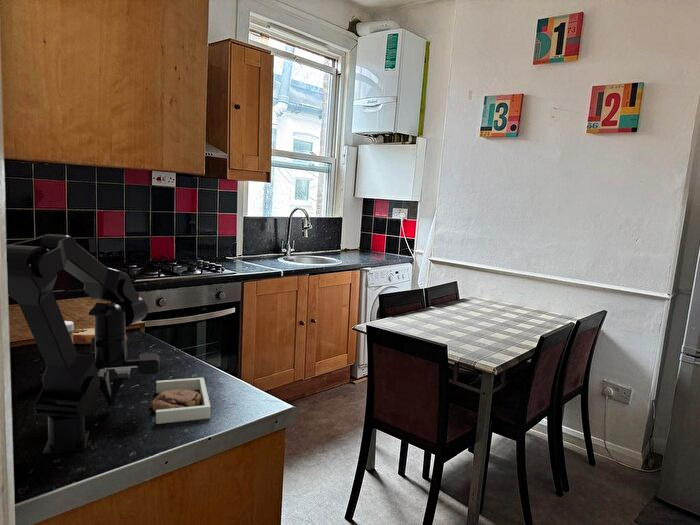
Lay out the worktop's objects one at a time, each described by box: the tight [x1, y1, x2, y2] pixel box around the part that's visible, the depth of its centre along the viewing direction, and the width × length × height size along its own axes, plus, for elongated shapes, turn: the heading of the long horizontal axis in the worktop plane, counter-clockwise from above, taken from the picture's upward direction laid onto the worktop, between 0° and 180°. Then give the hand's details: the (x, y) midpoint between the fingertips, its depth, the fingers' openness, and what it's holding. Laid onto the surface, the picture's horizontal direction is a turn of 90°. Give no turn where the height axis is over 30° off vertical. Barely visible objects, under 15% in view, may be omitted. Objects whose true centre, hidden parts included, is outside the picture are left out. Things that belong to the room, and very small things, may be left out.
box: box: [155, 377, 211, 425], centre depth 110 cm, size 17×10×2 cm, turn 21°
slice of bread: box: [73, 327, 128, 345], centre depth 151 cm, size 18×18×4 cm
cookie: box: [150, 389, 202, 413], centre depth 109 cm, size 10×11×3 cm
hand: (111, 405), depth 105 cm, fingers closed
